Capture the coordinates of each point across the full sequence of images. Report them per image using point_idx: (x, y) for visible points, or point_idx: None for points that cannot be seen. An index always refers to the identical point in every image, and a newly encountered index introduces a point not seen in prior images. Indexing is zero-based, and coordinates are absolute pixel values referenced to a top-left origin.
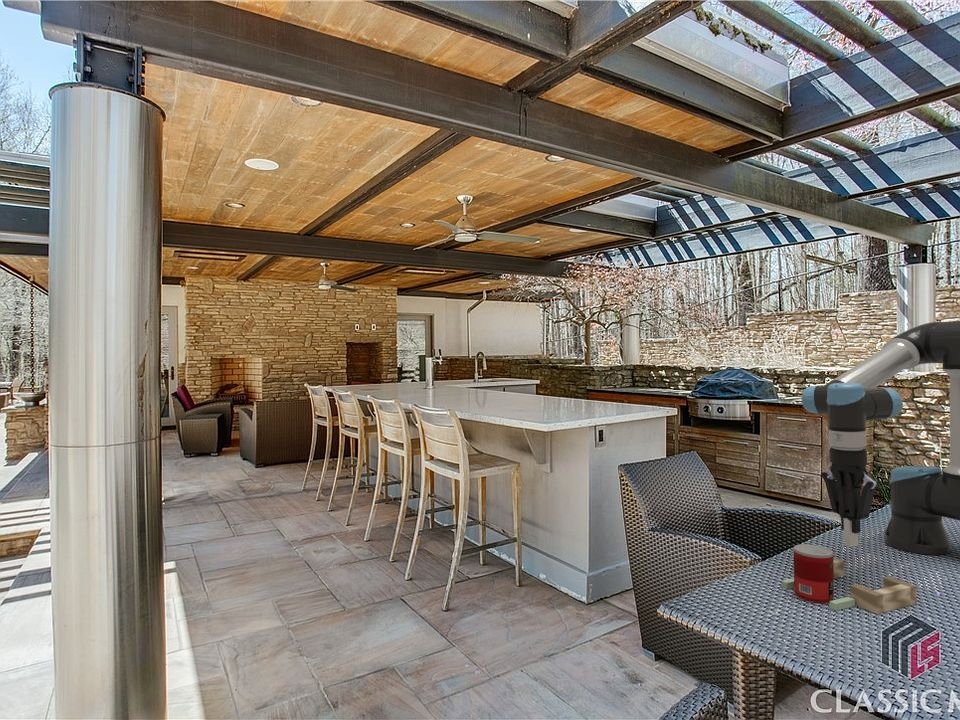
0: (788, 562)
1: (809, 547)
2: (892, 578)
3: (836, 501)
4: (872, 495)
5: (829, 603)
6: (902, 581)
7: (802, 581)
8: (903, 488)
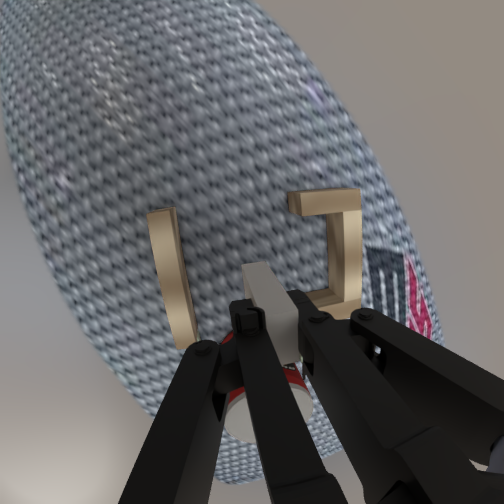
0: (73, 267)
1: (243, 410)
2: (312, 197)
3: (218, 425)
4: (484, 380)
5: (300, 360)
6: (333, 192)
7: None
8: None
